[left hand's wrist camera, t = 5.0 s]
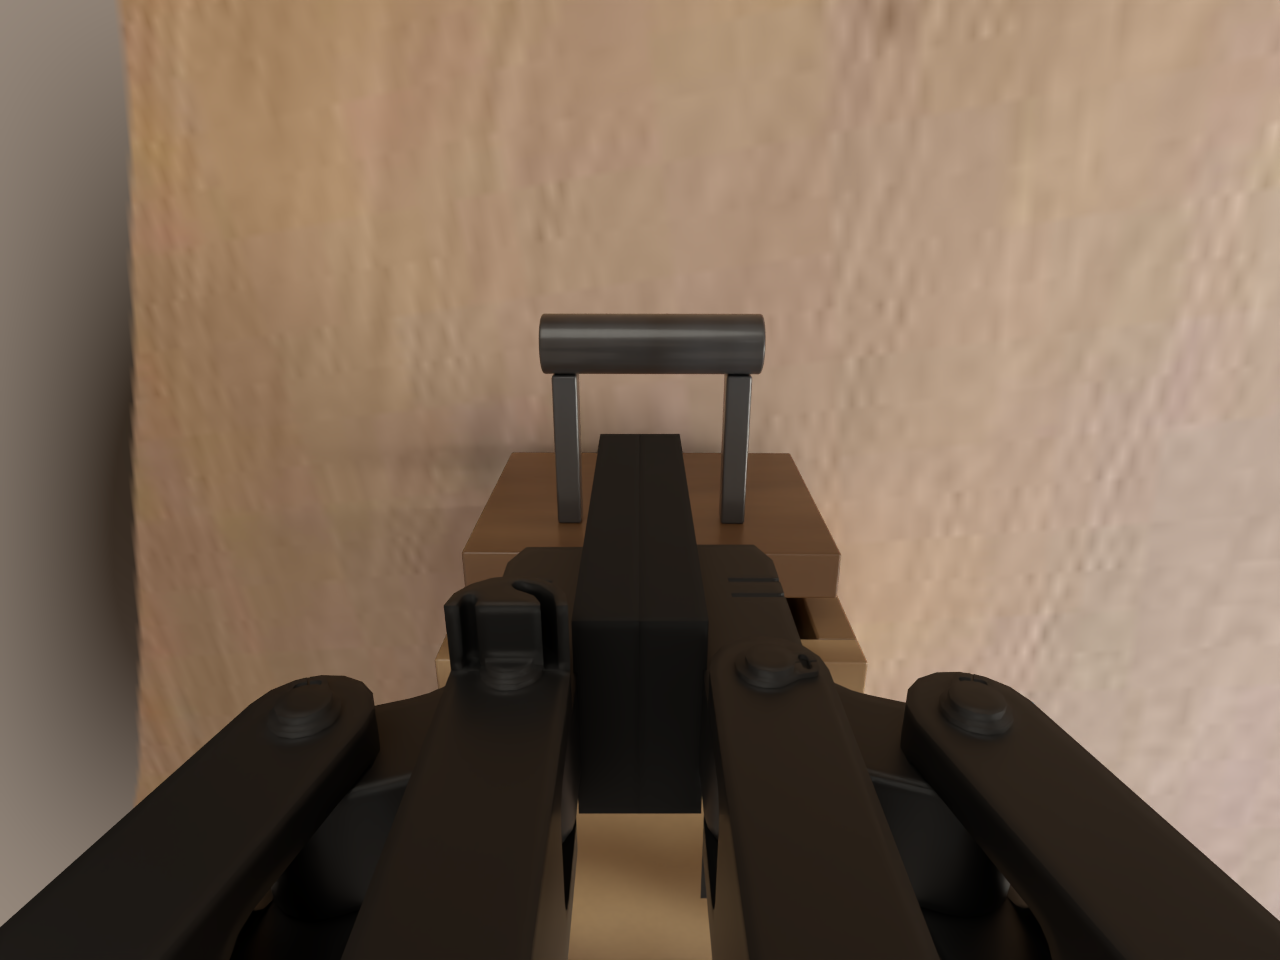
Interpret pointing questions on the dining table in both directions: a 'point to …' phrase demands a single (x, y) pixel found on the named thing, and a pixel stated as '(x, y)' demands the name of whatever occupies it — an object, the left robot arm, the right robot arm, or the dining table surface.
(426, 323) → the dining table surface
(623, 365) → the drawer
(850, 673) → the wooden storage box
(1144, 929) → the left robot arm
